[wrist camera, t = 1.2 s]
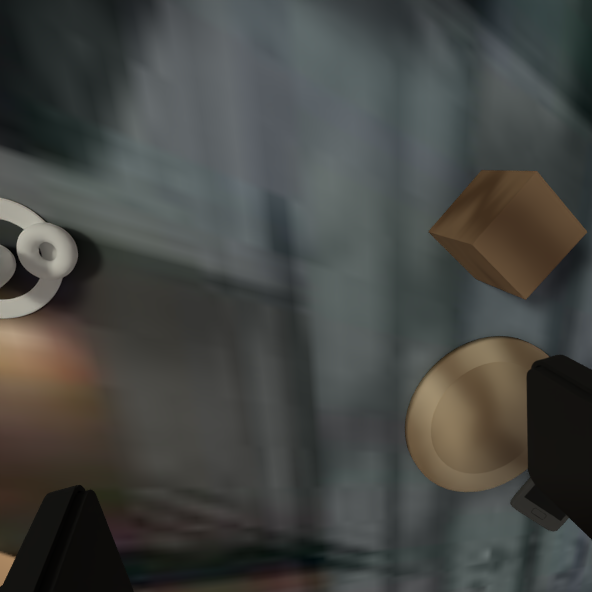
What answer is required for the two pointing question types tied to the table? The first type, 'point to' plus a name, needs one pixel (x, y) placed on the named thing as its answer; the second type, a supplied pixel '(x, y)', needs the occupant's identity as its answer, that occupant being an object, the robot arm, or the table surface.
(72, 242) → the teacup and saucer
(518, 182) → the walnut cube
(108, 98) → the table surface
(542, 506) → the cell phone
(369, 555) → the table surface
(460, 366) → the plate
